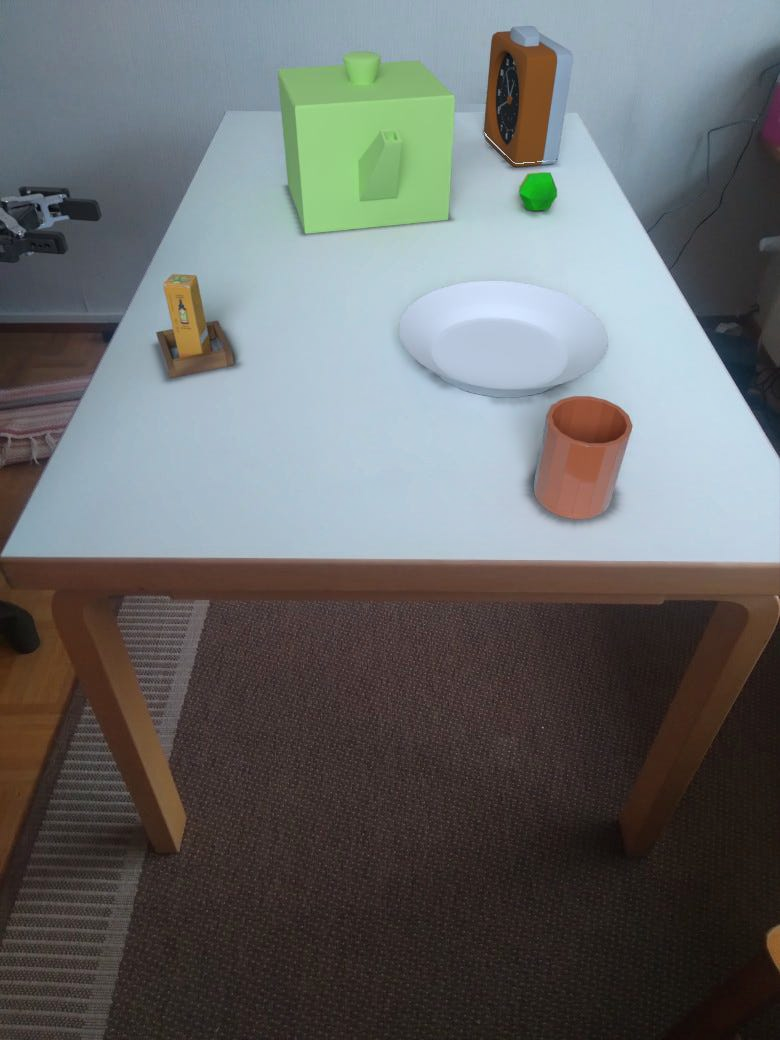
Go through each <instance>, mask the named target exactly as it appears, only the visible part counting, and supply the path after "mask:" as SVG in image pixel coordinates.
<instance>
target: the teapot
mask: <svg viewBox="0 0 780 1040" xmlns="http://www.w3.org/2000/svg"><path fill="white" fill-rule="evenodd" d="M381 57H382V56H381V55H380V54H378V53H376V52H373V51H367V50H366V51H365V50H360V51H359V50H358V51H350V52H348V53H346V54H344V55H343V56H342V61H343V64H336V65H335V64H334V65H320V66H319V65H318V66H303V67H287V68H277V82H278V92H279V104H280V113H281V124H282V134H283V144H284V145H283V146H284V155H285V165H286V177H287V186H288V190H289V192H290V195H291V198H292V201H293V203H294V207H295V209H296V212H297V214H298V217H299V220H300V223H301V226H302V229H303V232H304V234H306V235H307V234H317V233H327V232H337V231H338V232H339V231H349V230H359V229H360V230H361V229H369V228H380V227H389V226H398V225H400V226H401V225H409V224H420V223H430V222H440V221H448V220H449V215H450V213H449V212H450V198H451V197H450V196H451V181H452V180H451V179H452V160H453V145H454V144H453V143H454V128H455V127H454V126H455V110H456V97H455V96H456V95H455V94H453V92H451V91H450V90H449V89H448V88H447V87H446V86H445V85H444V84H443V82H442V81H440V80H439V78H437V77H436V76H435V74H434V73H433V72H431V71H430V70H429V68H427V66H425V65H424V64H423V63H422V62H421V61H420V60H403V61H402V60H401V61H386V62H385V61H384V62H383V61H382V62H381V60H382V58H381Z"/></svg>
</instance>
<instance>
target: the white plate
mask: <svg viewBox="0 0 780 1040" xmlns="http://www.w3.org/2000/svg"><path fill="white" fill-rule="evenodd" d="M398 333H399V339H400V341H401V343H402V345H403V347H404V348H405V350H406V352H408V353H409V355H410V356H411V357H412V358H413V359H415V361H417V362H418V363H419V364H421V365H422V366H424V367H425V368H427V369H428V370H430V371H432V372H434V373H435V374H436V375H437V376H438V377H439V378H440V379H442V380H443V381H444V382H446V383H448V384H449V385H451V386H453V387H455V388H458V389H460V390H462V391H465V392H468V393H472V394H476V395H478V396H479V395H480V396H485V397H493V398H506V399H507V398H522V397H530V396H534V395H537V394H541V393H545V392H547V391H549V390H552V389H553V388H555V387H558V386H560V385H562V384H565V383H568V382H570V381H573V380H575V379H578V378H580V377H582V376H583V375H586V374H587V373H588V372H590V371H592V369H594V368H595V367H597V366H598V365H599V363H601V361H602V359H604V357H605V355H606V352H607V350H608V346H609V336H608V333H607V329H606V327H605V326H604V323H603V322H602V320H601V319H600V318H599V317H598V316H597V315H596V313H595V312H593V311H592V310H591V309H590V308H589V307H587V306H586V305H585V304H583V303H581V302H579V301H578V300H576V299H575V298H572V297H571V296H568V295H566V294H564V293H562V292H559V291H557V290H553V289H550V288H547V287H544V286H539V285H537V284H530V283H525V282H518V281H508V280H476V281H475V280H474V281H467V282H460V283H455V284H451V285H447V286H444V287H440V288H438V289H435V290H433V291H430V292H428V293H426V294H424V295H423V296H421V297H419V298H418V299H416V300H414V301H413V302H412V303H411V304H410V305H409V306H408V307H407V308H406V309H405V311H404V312H403V314H402V316H401V318H400V320H399V325H398Z"/></svg>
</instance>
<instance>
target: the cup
mask: <svg viewBox="0 0 780 1040" xmlns="http://www.w3.org/2000/svg"><path fill="white" fill-rule="evenodd" d="M632 429H633V423H632V421H631V418H630V415H629V414H628V413H627V412H625V410H624V409H623V408H621V407H620V406H619V405H617V404H615V403H614V402H611V401H609V400H607V399H603V398H599V397H595V396H590V395H584V396H583V395H574V396H569V397H565V398H561V399H559V400H557V401H556V402H554V403H553V404H551V405H550V406H549V408H548V411H547V413H546V416H545V421H544V427H543V432H542V437H541V443H540V448H539V454H538V459H537V462H536V463H537V465H536V470H535V474H534V481H533V493H534V496H535V498H536V500H537V502H538V503H539V504H540V505H541V506H542V507H543V508H544V509H545V510H547V511H549V512H550V513H553V514H554V515H557V516H560V517H562V518H565V519H566V518H567V519H573V520H574V519H575V520H583V519H584V520H586V519H591V518H594V517H597V516H599V515H601V514H602V513H604V512H605V511H606V510H607V509H608V507H609V506H610V505H611V504H610V503H611V501H612V497H613V495H614V491H615V487H616V484H617V480H618V477H619V474H620V471H621V467H622V464H623V460H624V457H625V453H626V450H627V447H628V443H629V440H630V437H631V434H632Z"/></svg>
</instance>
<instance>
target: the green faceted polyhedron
mask: <svg viewBox="0 0 780 1040" xmlns="http://www.w3.org/2000/svg"><path fill="white" fill-rule="evenodd" d="M518 189H519V190H518V194H519V197H520V199H521V201H522V204H523V206H524V209H525V210H526V211H543V210H549V209H550V207H551V206H552V204H553V203H554V202H555V200H556V198H557V197H558V189H557V186H556V183H555V181H554V178H553V176H552V173H551V172H550V171H549V172H547V171H545V172H543V171H541V172H531V173H529V172H528V173H527V174H526V176H525V177H524V179H523V180H522V182H521V184H520V185H519V186H518Z"/></svg>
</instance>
